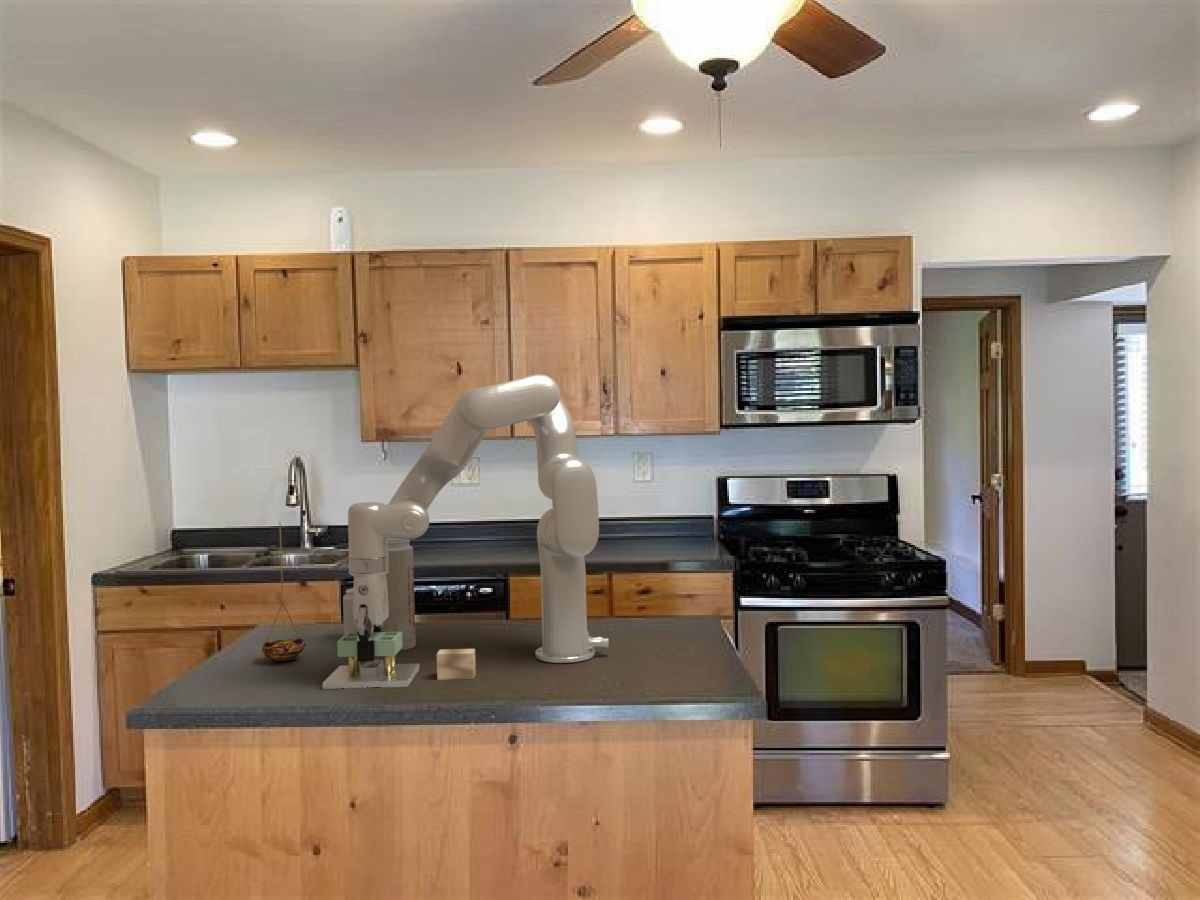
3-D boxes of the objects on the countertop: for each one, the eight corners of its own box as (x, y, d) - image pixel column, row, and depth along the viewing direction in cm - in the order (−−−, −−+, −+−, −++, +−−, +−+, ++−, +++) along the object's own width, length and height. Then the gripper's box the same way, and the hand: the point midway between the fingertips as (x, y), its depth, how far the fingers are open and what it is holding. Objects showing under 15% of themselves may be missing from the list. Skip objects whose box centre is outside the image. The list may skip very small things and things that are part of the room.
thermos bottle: (421, 642, 204) (417, 520, 203) (406, 651, 196) (403, 524, 195) (388, 641, 205) (385, 520, 205) (373, 650, 198) (369, 524, 197)
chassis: (419, 669, 181) (418, 633, 181) (407, 686, 169) (406, 648, 169) (340, 671, 181) (339, 635, 181) (322, 689, 169) (321, 650, 169)
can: (384, 638, 209) (382, 587, 208) (359, 645, 202) (358, 593, 202) (361, 635, 213) (360, 585, 212) (337, 641, 206) (335, 590, 206)
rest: (475, 673, 177) (475, 648, 177) (473, 678, 174) (472, 653, 174) (440, 674, 177) (439, 649, 177) (437, 679, 174) (436, 654, 173)
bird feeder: (313, 660, 191) (309, 520, 190) (274, 669, 184) (269, 524, 183) (293, 653, 197) (289, 517, 196) (254, 662, 190) (249, 521, 189)
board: (402, 646, 179) (402, 631, 178) (395, 655, 172) (394, 640, 171) (347, 647, 178) (347, 632, 178) (337, 656, 171) (337, 641, 171)
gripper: (377, 572, 166) (379, 667, 166) (397, 558, 183) (399, 644, 184) (337, 573, 166) (339, 668, 166) (361, 559, 183) (362, 645, 184)
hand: (370, 655), depth 175 cm, fingers closed on board, 7 cm apart
